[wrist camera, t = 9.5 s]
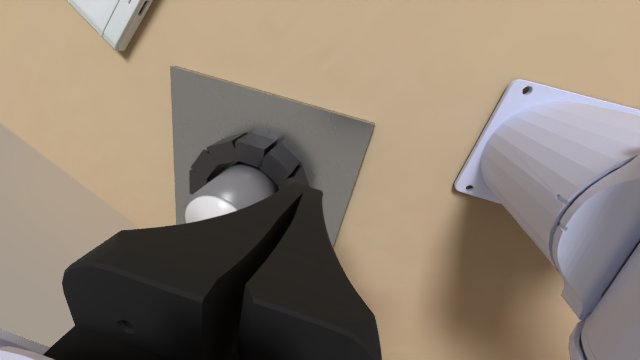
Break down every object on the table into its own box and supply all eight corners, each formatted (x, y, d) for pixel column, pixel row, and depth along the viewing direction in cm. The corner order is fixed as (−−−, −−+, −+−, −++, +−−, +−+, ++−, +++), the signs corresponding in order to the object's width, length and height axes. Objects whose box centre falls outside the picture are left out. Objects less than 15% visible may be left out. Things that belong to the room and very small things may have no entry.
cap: (289, 167, 21) (255, 209, 15) (279, 215, 23) (246, 265, 18) (232, 148, 21) (180, 182, 16) (228, 197, 24) (181, 241, 18)
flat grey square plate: (374, 123, 19) (374, 133, 16) (323, 273, 26) (317, 298, 23) (175, 66, 20) (144, 67, 17) (180, 225, 27) (159, 243, 25)
